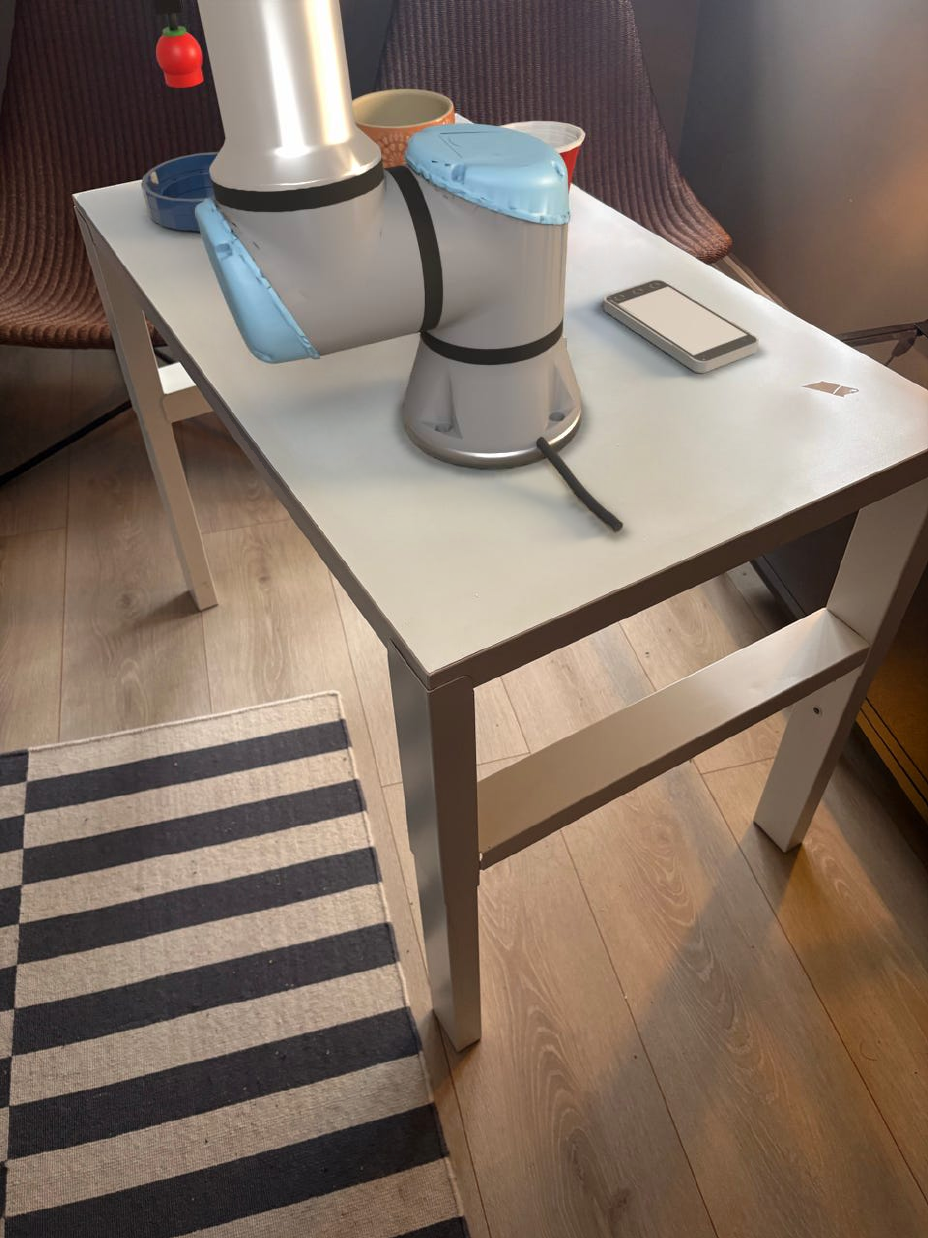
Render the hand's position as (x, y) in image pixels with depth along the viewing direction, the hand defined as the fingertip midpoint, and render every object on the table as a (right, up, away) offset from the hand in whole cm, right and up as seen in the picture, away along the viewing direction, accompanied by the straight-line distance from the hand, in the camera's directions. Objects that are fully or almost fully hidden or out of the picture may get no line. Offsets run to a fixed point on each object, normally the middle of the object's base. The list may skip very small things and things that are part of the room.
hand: (169, 9), depth 105 cm
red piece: (0, -5, +5) cm, 7 cm away
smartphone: (+51, -35, -8) cm, 63 cm away
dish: (0, -14, +16) cm, 21 cm away
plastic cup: (+38, -22, +6) cm, 44 cm away
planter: (+24, -14, +15) cm, 31 cm away
